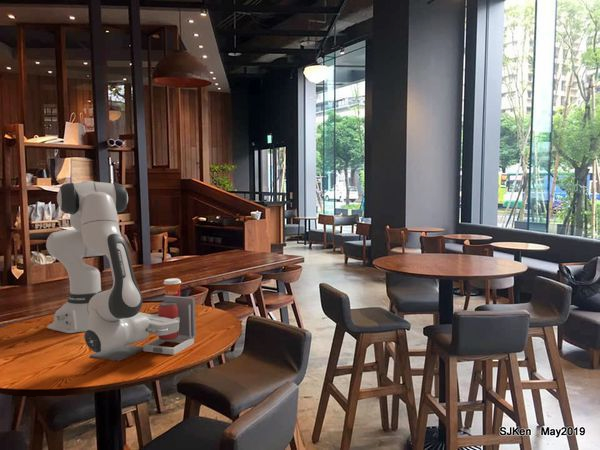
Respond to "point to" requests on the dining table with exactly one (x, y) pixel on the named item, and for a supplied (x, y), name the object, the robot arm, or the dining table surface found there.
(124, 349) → the rubber mat
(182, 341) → the case
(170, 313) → the beer can
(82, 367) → the dining table surface
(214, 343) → the dining table surface
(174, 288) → the paper cup
